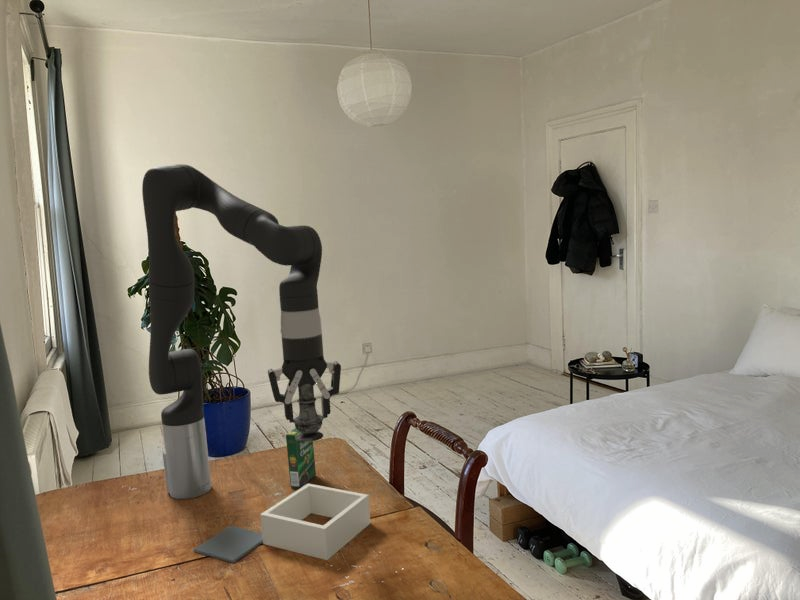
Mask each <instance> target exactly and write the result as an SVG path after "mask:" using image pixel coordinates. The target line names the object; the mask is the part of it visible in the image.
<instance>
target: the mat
mask: <svg viewBox="0 0 800 600" xmlns="http://www.w3.org/2000/svg"><path fill="white" fill-rule="evenodd" d="M261 544H263V537H262V532H259V531H255V530H250V529H246V528H243V527H239V526H234V525H230V526H228V527H227V528H225V529H224V530H222V531H220V532H219V533H217V534H216V535H214V536H213V537H211V538H209V539H207V540H206V541H205V542H203V543H201V544H200V545H199V546H196V547H195V548H194V549H193V552H194V553H197V554H200V555H205V556H208V557H211V558H215V559H218V560H223V561H225V562H229V563H233V564H234V563H236V562H237V561H238V560H240V559H241V558H243V557H245V555H247V554H248V553H250V552H251V551H252V550H254V549H256V548H257V547H258V546H259V545H261Z"/></svg>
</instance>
